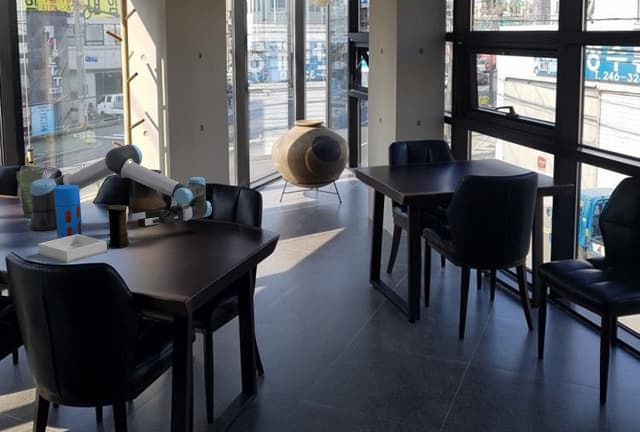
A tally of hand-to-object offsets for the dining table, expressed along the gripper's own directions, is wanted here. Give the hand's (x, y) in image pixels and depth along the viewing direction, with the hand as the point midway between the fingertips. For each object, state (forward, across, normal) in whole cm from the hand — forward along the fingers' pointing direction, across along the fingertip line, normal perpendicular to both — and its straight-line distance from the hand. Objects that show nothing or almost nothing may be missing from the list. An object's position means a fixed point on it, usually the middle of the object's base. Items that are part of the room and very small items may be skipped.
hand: (138, 219), depth 336 cm
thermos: (+23, +24, -10) cm, 35 cm away
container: (+10, 0, -11) cm, 15 cm away
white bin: (+31, +1, -10) cm, 33 cm away
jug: (-18, +30, -11) cm, 37 cm away
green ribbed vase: (+20, +82, -10) cm, 85 cm away
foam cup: (+2, +19, -11) cm, 22 cm away
